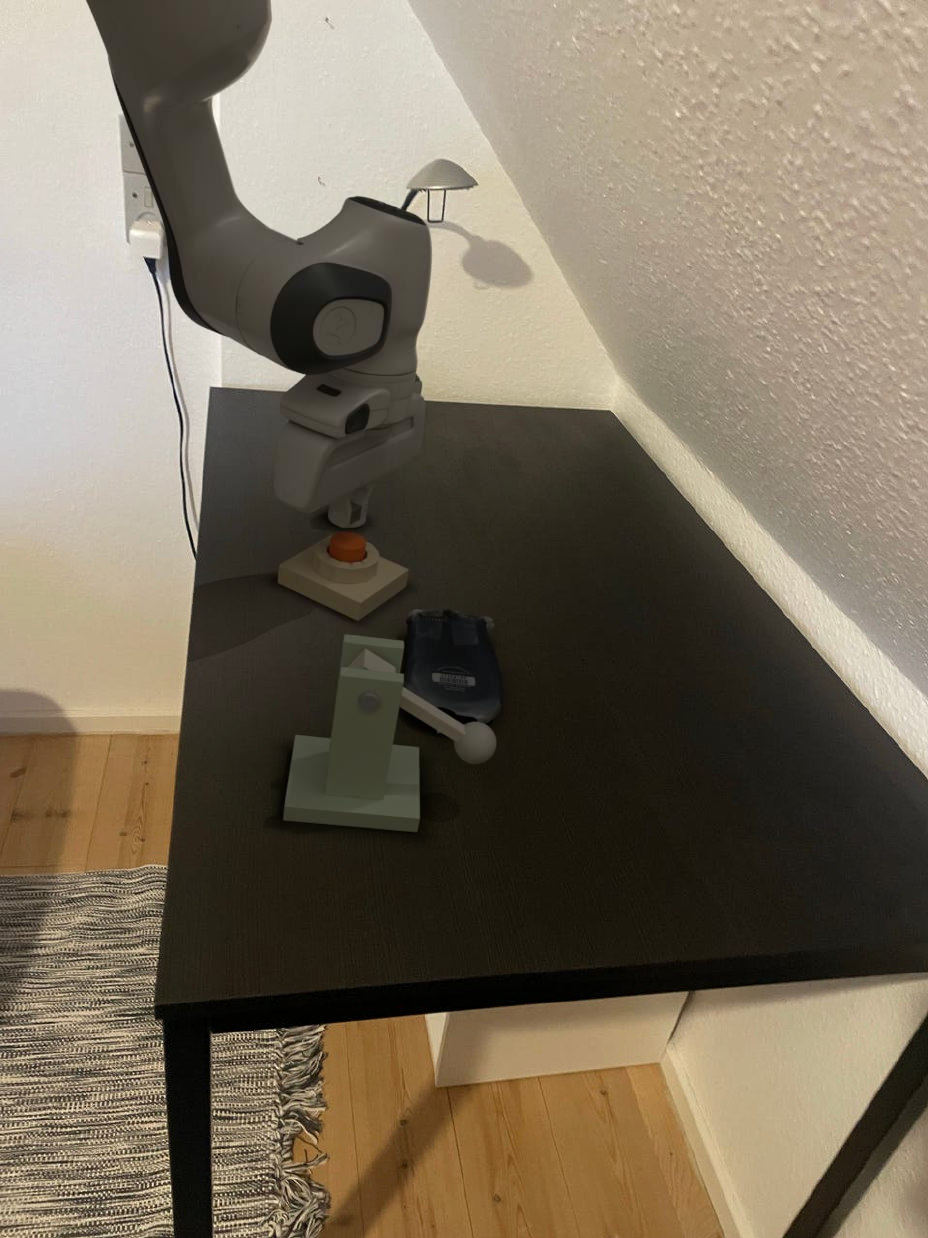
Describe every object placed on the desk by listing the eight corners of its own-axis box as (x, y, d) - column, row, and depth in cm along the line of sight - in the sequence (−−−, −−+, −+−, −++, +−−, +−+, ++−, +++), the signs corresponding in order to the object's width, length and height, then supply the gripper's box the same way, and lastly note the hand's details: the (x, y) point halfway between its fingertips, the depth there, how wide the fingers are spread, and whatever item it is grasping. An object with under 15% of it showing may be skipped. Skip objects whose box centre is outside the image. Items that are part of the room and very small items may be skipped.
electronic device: (391, 645, 93) (398, 727, 80) (406, 595, 91) (416, 671, 78) (481, 665, 95) (502, 747, 82) (497, 616, 93) (523, 693, 80)
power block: (277, 583, 96) (280, 549, 94) (329, 552, 103) (333, 519, 101) (357, 621, 93) (362, 587, 91) (406, 586, 100) (411, 554, 98)
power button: (321, 554, 95) (323, 539, 95) (342, 542, 98) (344, 527, 97) (351, 568, 94) (353, 553, 93) (371, 555, 97) (373, 540, 96)
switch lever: (476, 751, 74) (503, 726, 73) (478, 779, 72) (506, 754, 70) (342, 668, 69) (369, 640, 68) (339, 695, 67) (367, 666, 65)
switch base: (416, 760, 78) (441, 633, 71) (417, 832, 71) (444, 700, 64) (293, 748, 76) (307, 617, 69) (282, 820, 70) (296, 684, 63)
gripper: (396, 357, 96) (377, 481, 103) (267, 401, 80) (256, 543, 87) (449, 377, 94) (426, 501, 101) (328, 426, 78) (311, 569, 85)
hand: (347, 521), depth 94 cm, fingers closed
